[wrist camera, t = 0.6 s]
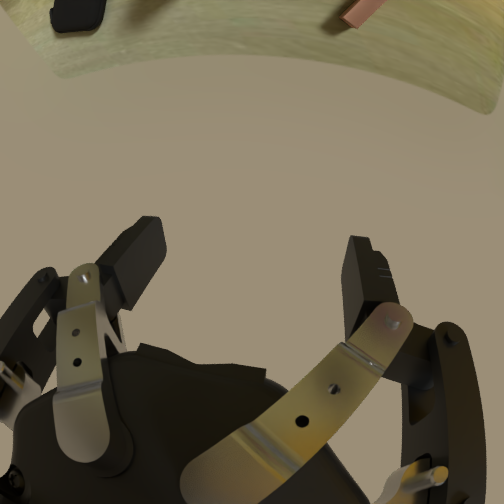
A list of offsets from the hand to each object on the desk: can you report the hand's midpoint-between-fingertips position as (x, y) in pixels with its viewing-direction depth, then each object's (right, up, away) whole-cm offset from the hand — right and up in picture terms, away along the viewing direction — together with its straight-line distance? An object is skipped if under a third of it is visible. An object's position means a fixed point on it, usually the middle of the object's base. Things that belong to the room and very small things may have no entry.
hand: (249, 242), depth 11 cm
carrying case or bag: (-23, +36, +6) cm, 43 cm away
